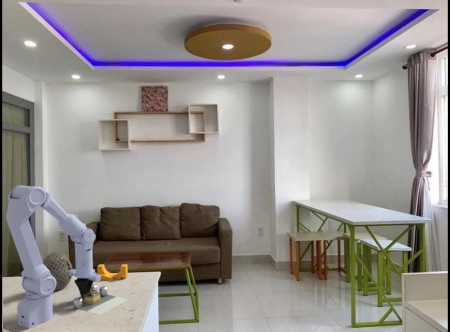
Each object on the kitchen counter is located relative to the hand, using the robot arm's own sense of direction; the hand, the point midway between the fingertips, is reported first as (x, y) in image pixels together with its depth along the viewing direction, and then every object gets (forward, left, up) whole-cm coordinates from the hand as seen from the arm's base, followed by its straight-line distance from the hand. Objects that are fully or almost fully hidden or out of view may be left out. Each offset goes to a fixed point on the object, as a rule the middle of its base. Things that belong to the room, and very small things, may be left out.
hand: (85, 297), depth 124 cm
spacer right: (+5, -3, -1) cm, 6 cm away
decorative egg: (+2, +20, -2) cm, 20 cm away
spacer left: (-6, -3, -1) cm, 6 cm away
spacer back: (+5, +2, -1) cm, 5 cm away
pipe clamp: (+20, +8, -2) cm, 21 cm away
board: (0, -5, -2) cm, 5 cm away
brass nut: (0, -4, -1) cm, 4 cm away
